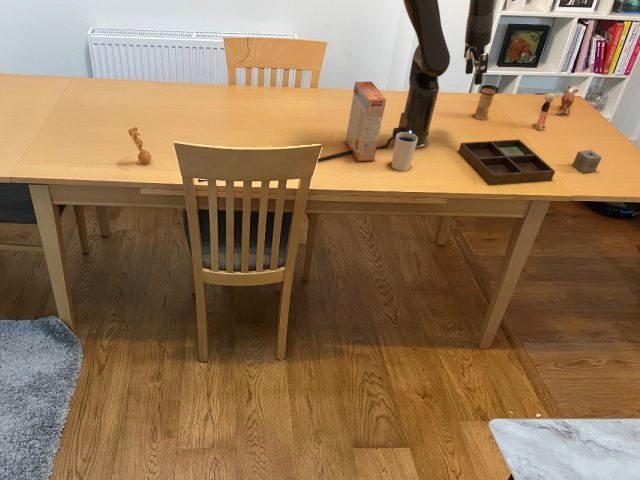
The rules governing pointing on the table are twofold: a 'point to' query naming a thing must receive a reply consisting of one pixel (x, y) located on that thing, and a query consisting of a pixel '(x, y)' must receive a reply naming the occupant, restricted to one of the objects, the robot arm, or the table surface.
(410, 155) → the white cup
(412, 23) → the robot arm
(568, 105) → the bull figurine
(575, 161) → the gray cube
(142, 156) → the figurine
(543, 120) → the grandmother figurine
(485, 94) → the lidded canister
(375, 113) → the cracker box
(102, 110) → the table surface
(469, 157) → the grid
